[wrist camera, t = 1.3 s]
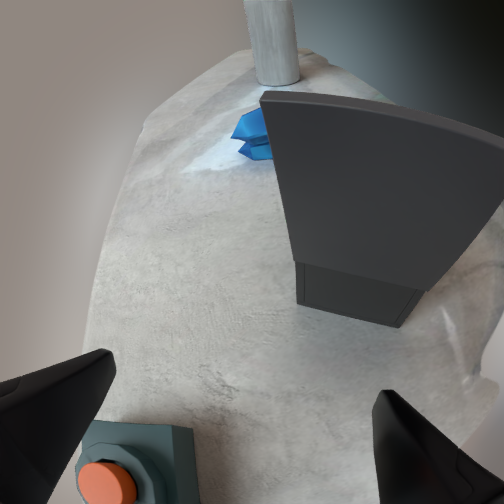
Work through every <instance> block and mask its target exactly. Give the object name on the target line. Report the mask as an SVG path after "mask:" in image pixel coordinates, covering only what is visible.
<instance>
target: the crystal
mask: <svg viewBox="0 0 504 504" xmlns="http://www.w3.org/2000/svg"><path fill="white" fill-rule="evenodd" d="M231 138H232V139H239V140H242V141H245V142H246V143H245V144H244V145H243V146H242V147H241V149H240V150H239V151H238V152H239V153H241V154H243V155H245V156H247V157H248V158H250V159H252V160H262V159H273V157H272V152H271V148H270V144H269V139H268V135H267V131H266V127H265V122H264V118H263V114H262V110H261V107H260V108H258V109H256V110H253V111H251V112H249V113H247V114H245V115H242V117H241V119H240V121H239V123H238V125H237V127H236V129H235V131H234V133H233V134H232V136H231Z"/></svg>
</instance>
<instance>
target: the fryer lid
mask: <svg viewBox="0 0 504 504" xmlns="http://www.w3.org/2000/svg"><path fill="white" fill-rule="evenodd" d="M259 102H260V106H261V110H262V114H263V118H264V122H265V127H266V131H267V135H268V139H269V144H270V148H271V152H272V157H273V161H274V166H275V170H276V175H277V180H278V184H279V189H280V194H281V199H282V203H283V208H284V213H285V218H286V223H287V228H288V233H289V239H290V244H291V249H292V254H293V260H294V261H297V262H301V263H305V264H310V265H314V266H318V267H323V268H327V269H331V270H336V271H340V272H344V273H349V274H353V275H357V276H362V277H366V278H370V279H375V280H379V281H383V282H388V283H392V284H396V285H401V286H405V287H409V288H414V289H418V290H422V291H427V292H428V291H429V290H430V289H431V288H432V287H433V286H434V285H435V284H436V283H437V282H438V281H439V280H440V279H441V278H442V276H443V275H444V274H445V273H446V272H447V271H448V270H449V269H450V268H451V266H452V265H453V264H454V263H455V262H456V261H457V260H458V258H459V257H460V256H461V255H462V254H463V252H464V251H465V250H466V249H467V248H468V246H469V245H470V244H471V243H472V241H473V240H474V239H475V238H476V236H477V235H478V234H479V233H480V231H481V230H482V229H483V227H484V226H485V225H486V223H487V222H488V221H489V219H490V218H491V216H492V215H493V214H494V212H495V211H496V209H497V208H498V207H499V205H500V204H501V202H502V201H503V199H504V138H501V137H499V136H496V135H494V134H491V133H489V132H486V131H484V130H481V129H478V128H475V127H473V126H470V125H467V124H464V123H460V122H458V121H454V120H451V119H448V118H444V117H441V116H438V115H434V114H430V113H427V112H422V111H419V110H415V109H410V108H406V107H402V106H397V105H392V104H387V103H382V102H377V101H371V100H365V99H359V98H352V97H344V96H336V95H328V94H318V93H306V92H291V91H265V92H264V93H263V95H262V96H261V98H260V100H259Z"/></svg>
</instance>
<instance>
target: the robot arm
mask: <svg viewBox="0 0 504 504" xmlns="http://www.w3.org/2000/svg"><path fill="white" fill-rule="evenodd" d="M115 375H116V365H115V361H114V357H113V353H112V352H111V351H109V350H106V349H103V348H101V349H98V350H95V351H92V352H90V353H87V354H84V355H81V356H79V357H76V358H73V359H70V360H67V361H64V362H62V363H58V364H56V365H53V366H50V367H47V368H44V369H41V370H38V371H35V372H32V373H29V374H26V375H23V376H22V377H21V376H20V377H17V378H14V379H10V380H7V381H3V382H0V504H47V502H48V500H49V498H50V496H51V494H52V492H53V491H54V488H55V487H56V485H57V483H58V481H59V479H60V477H61V475H62V474H63V472H64V470H65V468H66V466H67V464H68V462H69V461H70V459H71V457H72V455H73V454H74V452H75V450H76V448H77V447H78V445H79V443H80V441H81V440H82V438H83V436H84V435H85V433H86V431H87V429H88V428H89V426H90V424H91V423H92V421H93V419H94V418H95V416H96V414H97V413H98V411H99V409H100V407H101V405H102V403H103V401H104V399H105V397H106V395H107V393H108V390H109V388H110V386H111V384H112V382H113V380H114V378H115ZM372 422H373V448H374V458H375V465H376V473H377V481H378V489H379V498H380V504H504V481H503V480H501V479H500V478H498V477H497V476H495V475H494V474H492V473H491V472H489V471H488V470H486V469H485V468H483V467H482V466H481V465H480V464H478V463H477V462H475V461H474V460H473V459H472V458H471V457H469V456H468V455H467V454H466V453H464V452H463V451H462V450H461V449H460V448H458V446H456V445H455V444H454V443H453V442H452V441H451V440H450V439H448V438H447V437H446V436H445V435H444V434H443V433H442V432H441V431H439V430H438V429H437V428H436V427H435V426H434V425H433V424H431V423H430V422H429V421H428V420H427V419H426V418H425V417H424V416H422V415H421V414H420V413H419V412H418V411H417V410H416V409H414V408H413V407H412V406H411V405H410V404H409V403H408V402H407V401H405V400H404V399H403V398H402V397H401V396H400V395H399V394H398V393H396V392H395V391H394V390H381V391H380V393H379V395H378V397H377V400H376V402H375V404H374V406H373V409H372Z"/></svg>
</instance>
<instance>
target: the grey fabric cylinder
mask: <svg viewBox="0 0 504 504" xmlns="http://www.w3.org/2000/svg"><path fill="white" fill-rule="evenodd" d="M243 1H244V7H245V12H246V17H247V23H248V28H249V34H250V40H251V45H252V51H253V57H254V63H255V69H256V75H257V80H258V83H260V84H262V85H266V86H283V85H289V84H293V83H295V82H297V81H298V80H299V79H300V71H299V60H298V50H297V41H296V32H295V24H294V15H293V8H292V0H243Z"/></svg>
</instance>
